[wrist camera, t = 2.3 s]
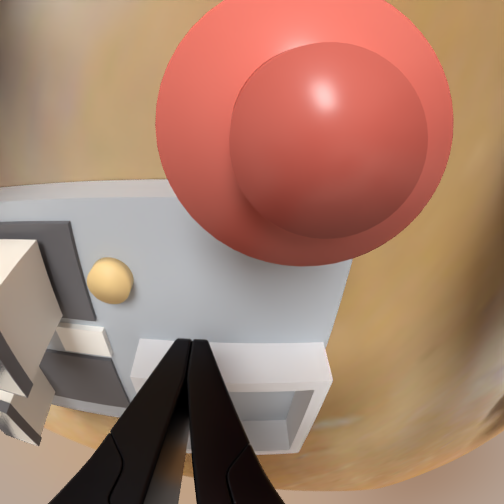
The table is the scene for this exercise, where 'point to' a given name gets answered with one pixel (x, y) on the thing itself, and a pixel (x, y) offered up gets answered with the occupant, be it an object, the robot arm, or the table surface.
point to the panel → (167, 309)
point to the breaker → (24, 314)
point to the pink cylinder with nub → (304, 126)
